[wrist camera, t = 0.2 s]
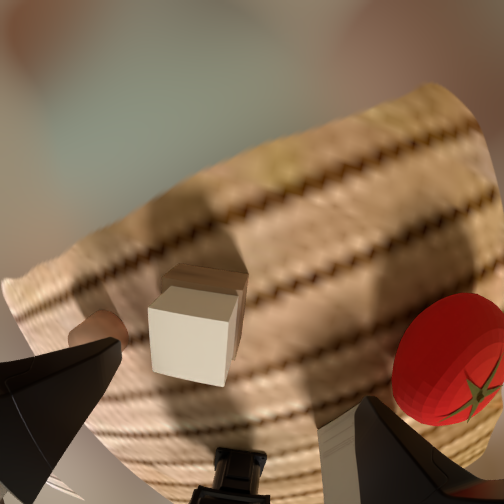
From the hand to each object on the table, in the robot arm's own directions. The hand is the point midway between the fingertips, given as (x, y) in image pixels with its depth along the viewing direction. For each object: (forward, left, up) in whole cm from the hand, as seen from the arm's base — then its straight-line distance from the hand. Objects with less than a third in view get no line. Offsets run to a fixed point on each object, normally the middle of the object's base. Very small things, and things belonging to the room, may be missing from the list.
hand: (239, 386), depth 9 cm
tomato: (-5, -18, -15) cm, 24 cm away
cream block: (-4, +4, -11) cm, 12 cm away
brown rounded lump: (-10, +15, -14) cm, 23 cm away
